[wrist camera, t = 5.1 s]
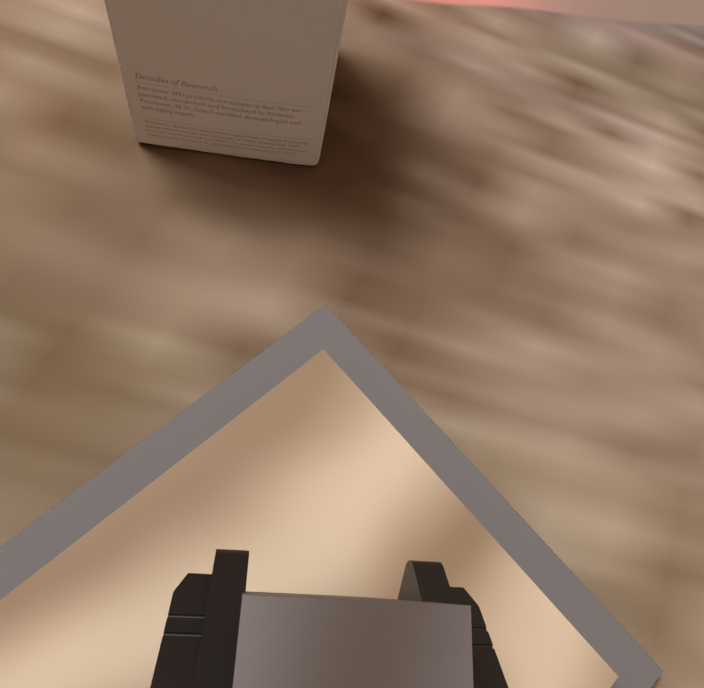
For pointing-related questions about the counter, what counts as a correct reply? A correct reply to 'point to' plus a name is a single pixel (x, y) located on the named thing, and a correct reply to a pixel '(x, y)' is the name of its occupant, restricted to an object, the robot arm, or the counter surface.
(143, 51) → the supplement box
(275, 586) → the lid
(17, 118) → the counter surface
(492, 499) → the mat
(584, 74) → the counter surface
